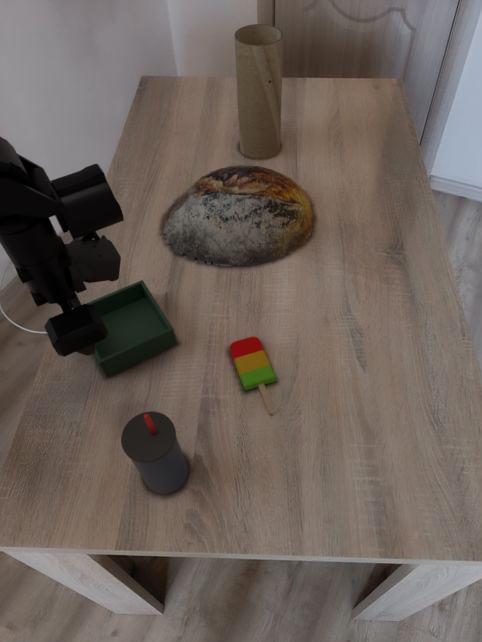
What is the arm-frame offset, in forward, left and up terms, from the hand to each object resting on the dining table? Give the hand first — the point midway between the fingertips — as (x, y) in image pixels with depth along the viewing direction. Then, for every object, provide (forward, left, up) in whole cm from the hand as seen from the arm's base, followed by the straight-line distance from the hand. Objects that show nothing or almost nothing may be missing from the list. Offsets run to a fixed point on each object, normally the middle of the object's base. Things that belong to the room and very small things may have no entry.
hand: (80, 330), depth 67 cm
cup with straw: (+2, -19, -15) cm, 24 cm away
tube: (+57, +45, -16) cm, 74 cm away
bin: (+7, +8, -15) cm, 19 cm away
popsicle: (+22, -12, -16) cm, 29 cm away
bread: (+39, +24, -16) cm, 48 cm away
